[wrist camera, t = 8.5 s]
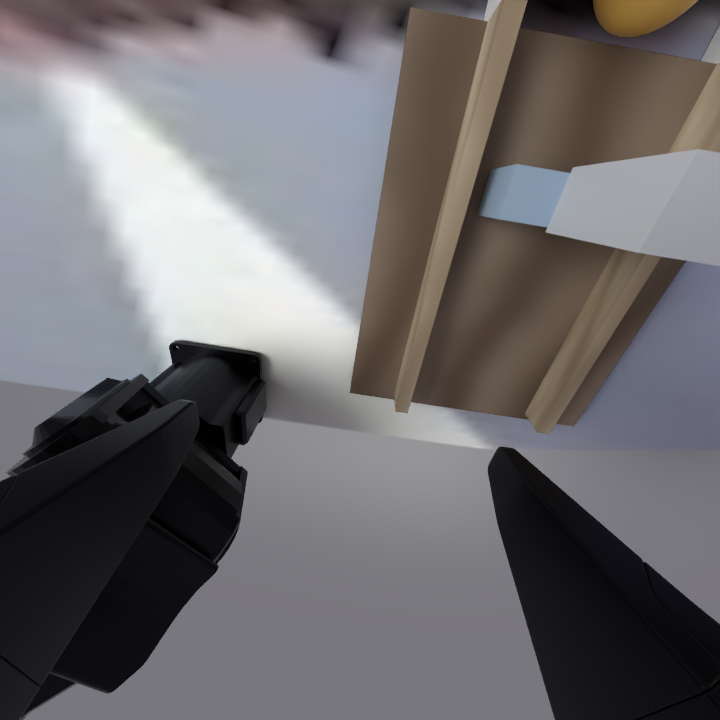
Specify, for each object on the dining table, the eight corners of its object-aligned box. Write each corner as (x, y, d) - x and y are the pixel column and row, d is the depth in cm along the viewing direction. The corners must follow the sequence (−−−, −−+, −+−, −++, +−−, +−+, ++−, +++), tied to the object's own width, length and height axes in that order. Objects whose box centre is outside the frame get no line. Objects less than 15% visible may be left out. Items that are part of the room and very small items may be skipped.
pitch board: (350, 385, 22) (347, 410, 20) (408, 20, 13) (416, -26, 10) (566, 417, 23) (590, 446, 20) (779, 88, 13) (878, 62, 11)
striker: (475, 219, 15) (561, 240, 8) (492, 164, 14) (610, 133, 7) (601, 240, 15) (792, 278, 8) (628, 187, 14) (879, 180, 7)
